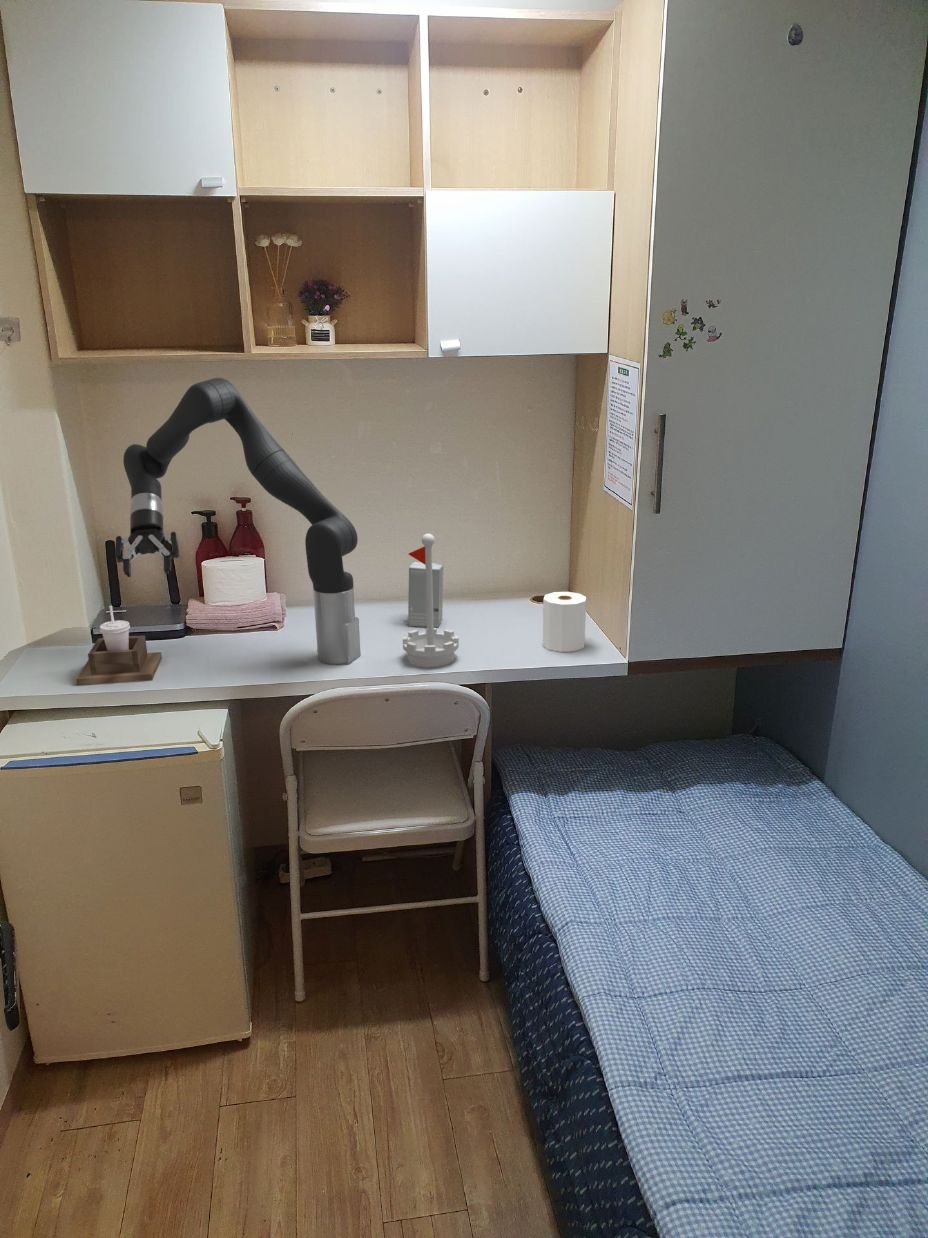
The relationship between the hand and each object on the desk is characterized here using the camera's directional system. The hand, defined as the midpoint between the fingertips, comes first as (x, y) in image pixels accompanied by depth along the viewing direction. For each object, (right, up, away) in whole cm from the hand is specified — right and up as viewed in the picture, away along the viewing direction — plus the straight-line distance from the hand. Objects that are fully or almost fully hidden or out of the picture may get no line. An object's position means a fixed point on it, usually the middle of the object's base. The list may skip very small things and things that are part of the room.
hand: (147, 573), depth 212 cm
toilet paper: (+98, -17, +8) cm, 100 cm away
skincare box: (+64, -12, +25) cm, 70 cm away
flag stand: (+66, -20, +1) cm, 69 cm away
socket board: (-4, -23, -5) cm, 23 cm away
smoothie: (-5, -21, -5) cm, 22 cm away
